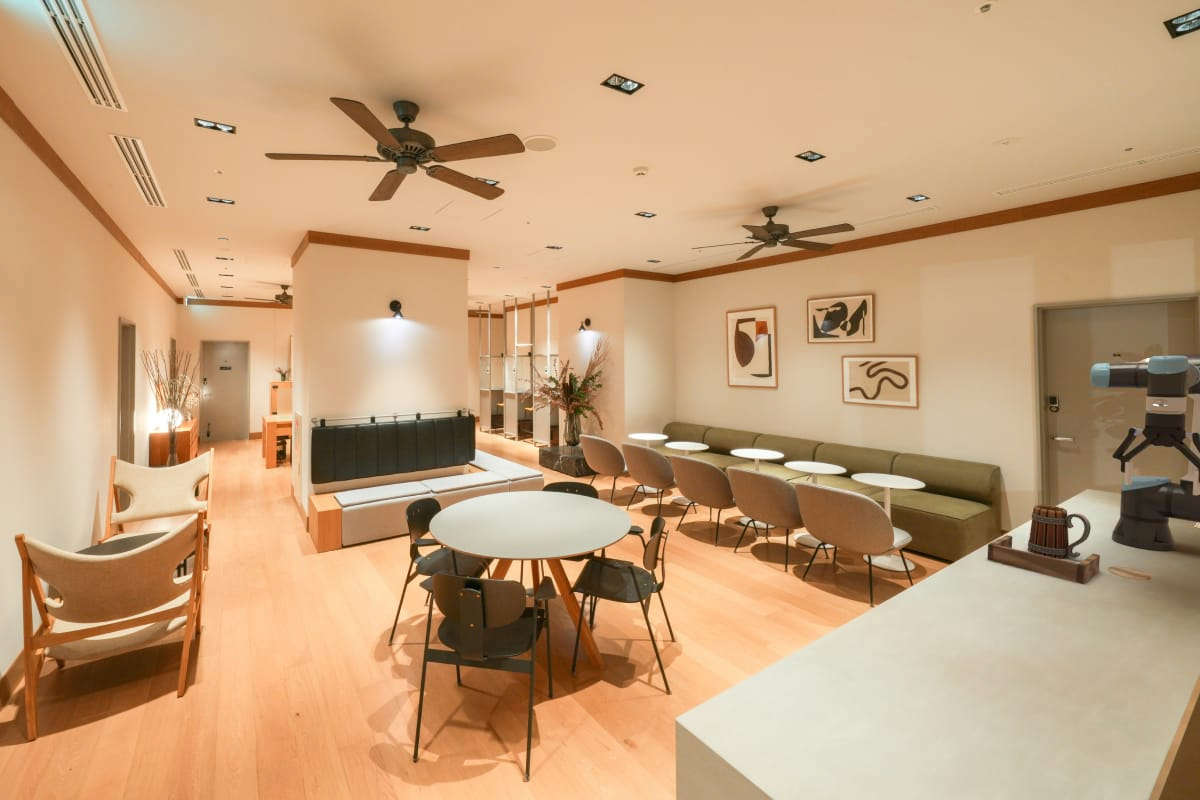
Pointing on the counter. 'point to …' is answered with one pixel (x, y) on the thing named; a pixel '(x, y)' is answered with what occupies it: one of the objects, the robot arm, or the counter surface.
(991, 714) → the counter surface
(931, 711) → the counter surface
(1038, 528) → the mug
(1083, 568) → the bay
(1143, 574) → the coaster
